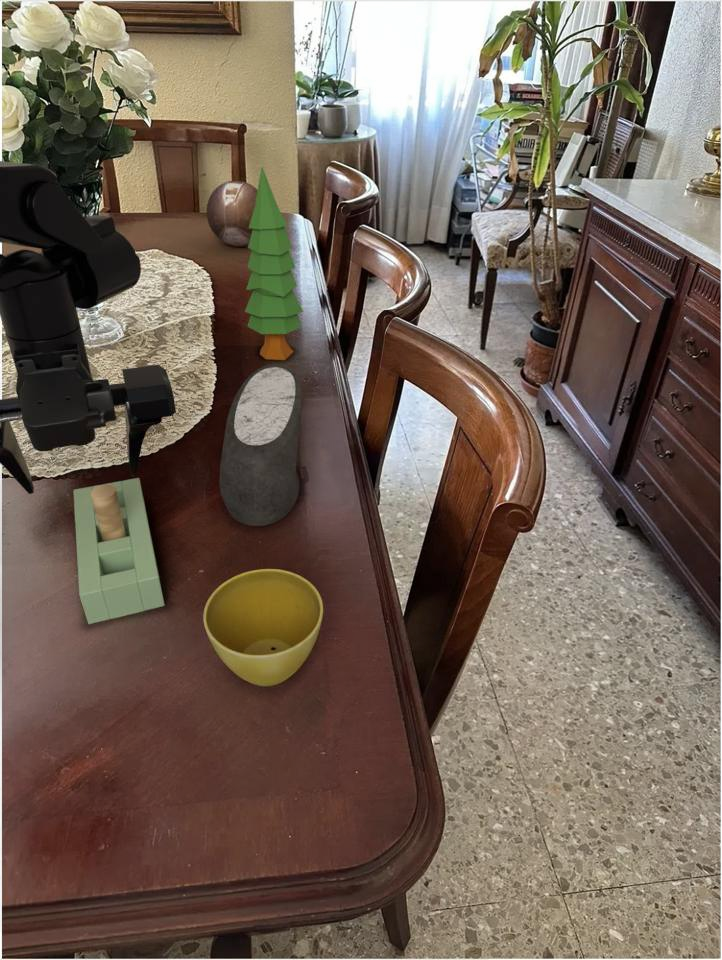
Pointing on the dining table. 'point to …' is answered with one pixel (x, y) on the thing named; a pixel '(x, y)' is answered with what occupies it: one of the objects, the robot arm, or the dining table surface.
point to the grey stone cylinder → (262, 447)
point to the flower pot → (264, 624)
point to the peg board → (116, 558)
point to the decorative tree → (271, 276)
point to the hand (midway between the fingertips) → (83, 482)
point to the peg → (108, 512)
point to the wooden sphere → (232, 212)
